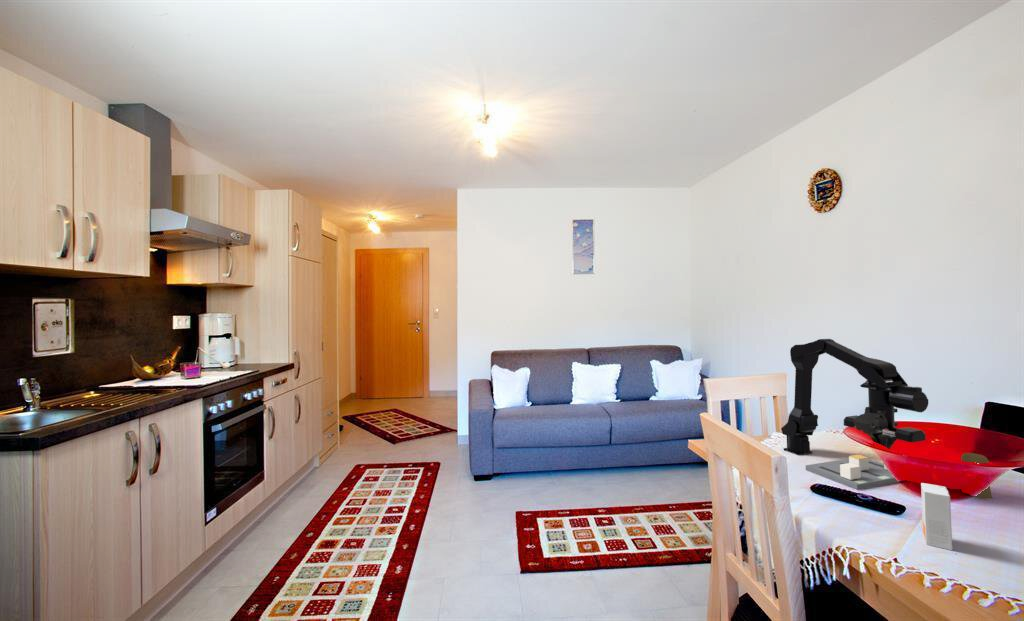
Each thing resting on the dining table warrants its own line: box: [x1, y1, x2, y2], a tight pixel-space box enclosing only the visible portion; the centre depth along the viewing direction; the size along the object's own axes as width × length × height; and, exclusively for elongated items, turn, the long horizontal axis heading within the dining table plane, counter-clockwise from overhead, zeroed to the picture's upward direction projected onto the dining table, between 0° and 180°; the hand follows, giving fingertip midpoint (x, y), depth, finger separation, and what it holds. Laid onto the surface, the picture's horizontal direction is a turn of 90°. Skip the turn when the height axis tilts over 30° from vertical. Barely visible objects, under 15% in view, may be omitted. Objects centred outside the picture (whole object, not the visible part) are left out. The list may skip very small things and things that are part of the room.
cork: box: [960, 452, 993, 500], centre depth 117 cm, size 6×6×11 cm
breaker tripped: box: [848, 454, 870, 471], centre depth 132 cm, size 3×4×4 cm
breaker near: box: [840, 463, 861, 480], centre depth 126 cm, size 3×4×4 cm
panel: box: [805, 458, 899, 491], centre depth 132 cm, size 16×24×2 cm, turn 105°
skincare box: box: [920, 482, 953, 551], centre depth 94 cm, size 6×4×12 cm
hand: (882, 456), depth 125 cm, fingers closed
